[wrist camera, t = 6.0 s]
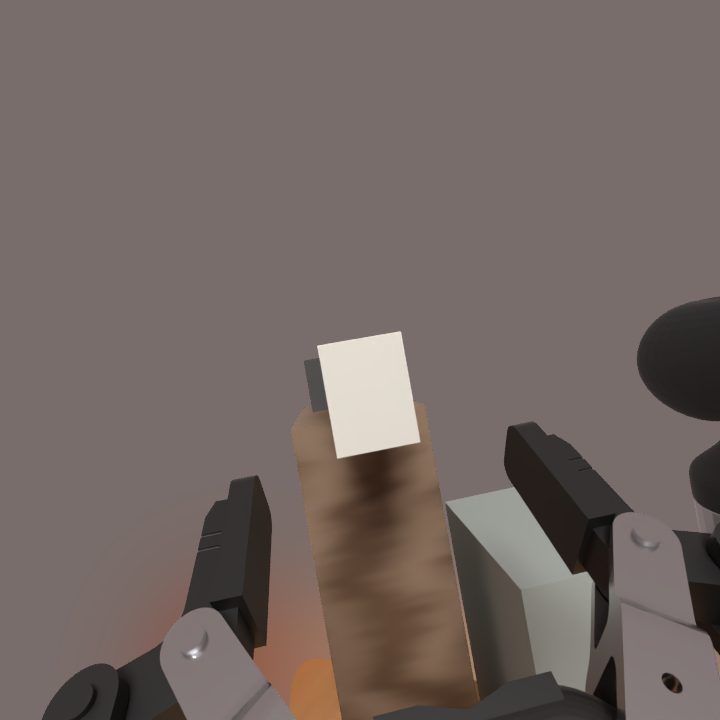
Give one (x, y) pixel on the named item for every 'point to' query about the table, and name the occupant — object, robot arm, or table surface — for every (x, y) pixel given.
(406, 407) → the bar
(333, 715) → the table surface
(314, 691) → the table surface
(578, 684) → the pale green block
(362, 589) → the brown tall block
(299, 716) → the table surface
